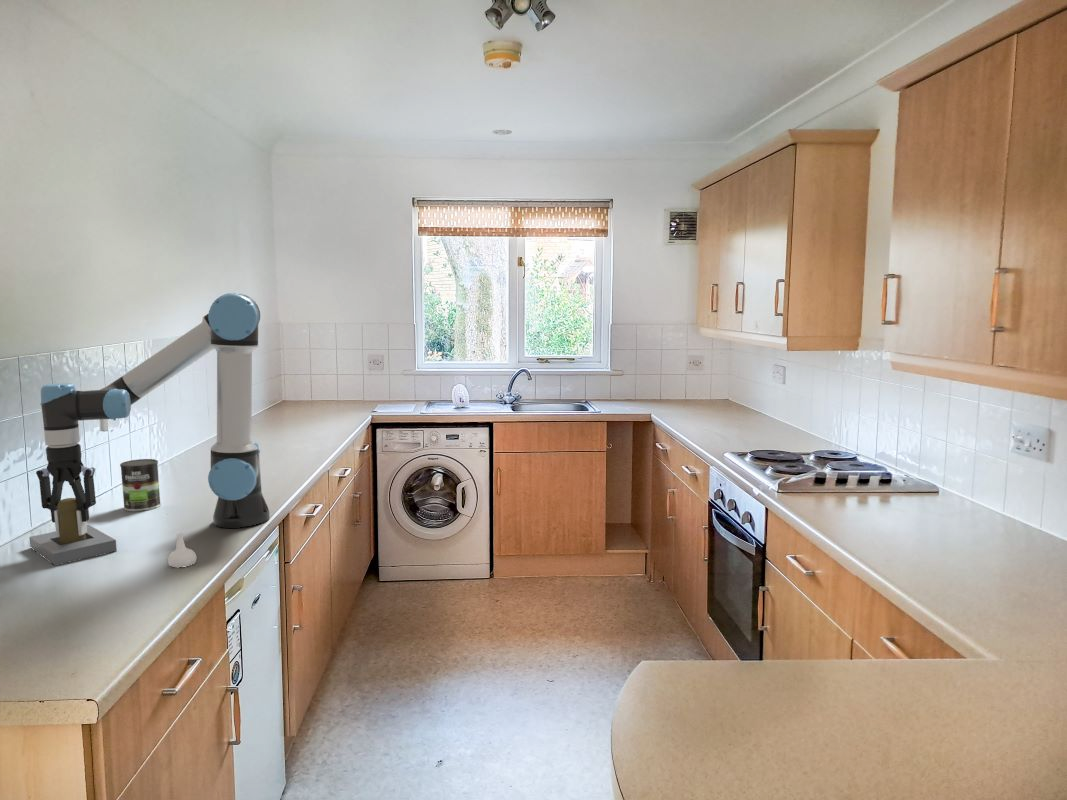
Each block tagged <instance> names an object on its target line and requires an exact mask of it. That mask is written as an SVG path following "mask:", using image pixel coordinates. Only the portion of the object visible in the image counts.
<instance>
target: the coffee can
mask: <svg viewBox="0 0 1067 800" xmlns="http://www.w3.org/2000/svg"><path fill="white" fill-rule="evenodd" d="M158 465H159V460H157V459H154V458H153V459H152V458H139V459H132V460H128V461H123V462H120V470H121V471H120V473H121V474H120V475H121V484H122V497H123V510H125V511H126V512H144V511H143V510H145V511H150V509H151V510H154V509H158V508H159V507H161V505H162V503H161V493H160V492H161V491H160V477H159V466H158Z"/></svg>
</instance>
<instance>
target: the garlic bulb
mask: <svg viewBox="0 0 1067 800" xmlns="http://www.w3.org/2000/svg"><path fill="white" fill-rule="evenodd" d="M196 562H197V555H196V552H195V551H194V550H192V549H191V548H187V547H186V545H185V541H184V536H183V533H182V532H181V533H178V534H176V546H175V549H174V550H173V551H172V552H171V553H170V554H169V556H168V558H167V564H168V566H169V567H170V566H172V567H183V566H188V565H191V564H193V565H194V564H196ZM191 566H192V565H191ZM172 567H171V568H172Z"/></svg>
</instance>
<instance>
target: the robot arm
mask: <svg viewBox="0 0 1067 800" xmlns="http://www.w3.org/2000/svg"><path fill="white" fill-rule="evenodd" d="M260 321H261V311H260V308H259V305H258V304H257V303H256V301H255V300H254V299H253V298H252V297H250V296H248V295H246V294H242V293H236V292H233V293H225V294H223V295H220V296H218V298H216V299H215V300H214V301H213V302H212V304H211V305H210V307H209V310H208V313H207V314H206V315H203V317H202V322H201V323H199V324H197V325H196V326H195V327H193V328H191V329H190V330H188V331H187V332H185V333H184V334H183V335H181V336H180V337H178V338H177V339H175V340H173V342H171V343H170V344H169V343H168V344H167V345H166V346H165V347H163V348H162V349H160V350H159V351H158V352H156V353H154V354H153V355H152V356H149V358H147V359H145V360H144V361H143V362H141V363H140V364H138V365H137V366H136V367H135V366H134V368H132V369H130V370H129V371H128V372H126V373H125V374H124V375H122V376H121V377H119V378H117V379H116V380H114V381H113V382H111V383H110V384H108V385H107V386H105V387H103V388H100V389H95V390H91V389H90V390H77V389H76V386H75V384H73V383H72V382H71V383H70V382H59V383H57V382H55V383H48V384H44V385H43V386H42V387H41V388H40V406H41V412H42V413H41V414H42V422H43V433H44V445H45V446H47V447H46V448H45V454H46V460H47V466H46V468H42V469H39V470H37V471H36V472H35V474H36V476H37V478H38V480H39V490H40V491H39V492H40V500H41V501H40V502H41V507H42V509H44V510H45V509H47V510H49V511H50V516H51V517H50V518H51V523H52V524H53V523H55V525H54V526H55V532H56V536H59V533H60V514H61V513H60V512H59V511H58V508H57V505H58V502H59V501H60V500H62V494H63V487H64V483H66V482H68V484H69V486H70V487H71V490H72V492H73V495H74V498H76V501H77V503H78V506H79V509H78V510H77V511H76V513H77V523H78V533H79V535H83V534H85V533H87V525H88V523H87V522H88V521H90V512H89V511H90V510H89V508H91V507H93V506H95V505H96V504H97V500H96V491H95V488H96V487H95V481H94V476H95V471H96V468H94V467H87V466H85V465H84V463H83V462H82V447H81V444H80V443H79V442H80V441H81V438H80V428H79V426H80V425H79V421H96V420H97V421H98V420H116V419H117V420H119V419H126V418H128V417H129V416H130V414H131V410H132V409H131V407H132V405H133V404H135V403H136V402H138V401H139V400H141V399H142V398H144V397H145V396H146V395H148V394H149V393H151V392H152V391H154V390H155V389H157V388H158V387H160V386H161V385H163V384H165V382H167V381H169V380H170V379H171V378H173V377H175V376H176V375H177V374H179V373H180V372H182V371H183V370H185V369H187V367H190V365H192V364H194V363H195V362H197V361H198V360H199V359H202V358H203V357H204V356H206V355H208V354H209V353H210V352H211V351H213V350H215V351H216V442H215V443H214V444H213V445H212V446H211V447H210V469H209V470H210V471H209V472H208V475H207V482H208V484H209V487H210V489H211V491H212V492H213V494H214V495H215V496H216V497H218V498H217V500H216V504H215V508H214V512H213V517H212V518H213V520H212V521H213V525H214V526H215V525H216V526H215V527H217V526H218V528H222V527H223V528H222V529H224V528H225V529H239V528H240V527H242V528H247V527H246V526H249V527H252V526H251V525H254V526H257V525H256V524H258V525H260V524H259V523H261V524H264V523H266V522H267V521H269V519H270V508H269V507H268V504H267V501H266V500H265V497H264V495H263V491H262V476H261V463H260V462H261V461H260V453H261V450H260V446H259V443H258V442H257V441H253V440H252V410H253V409H252V405H253V403H252V401H253V400H252V397H253V395H252V392H253V391H252V389H253V388H252V387H253V379H252V378H253V376H252V374H253V373H252V372H253V352H254V350H256V348H258V347H259V324H260ZM81 474H82V477H83V485H82V478H81V476H80V475H81ZM50 475H51V476H52V481H51V479H50ZM51 482H52V483H51ZM51 484H52V489H51ZM265 521H266V522H265ZM263 522H264V523H263Z"/></svg>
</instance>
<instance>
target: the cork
mask: <svg viewBox="0 0 1067 800" xmlns="http://www.w3.org/2000/svg"><path fill="white" fill-rule="evenodd" d="M57 508H58V511H59V512H60V513H61V514H60V533H59V543H60V544H69V543H73V542H78V541H82V540H86V535H85V534H83V535H79V533H78V523H77V513H76V511H77V510H78V509H79V506H78V503H77V501H76V498H75V497H67V498H63V499H61V500H60V501H59V502H58V505H57Z"/></svg>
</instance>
